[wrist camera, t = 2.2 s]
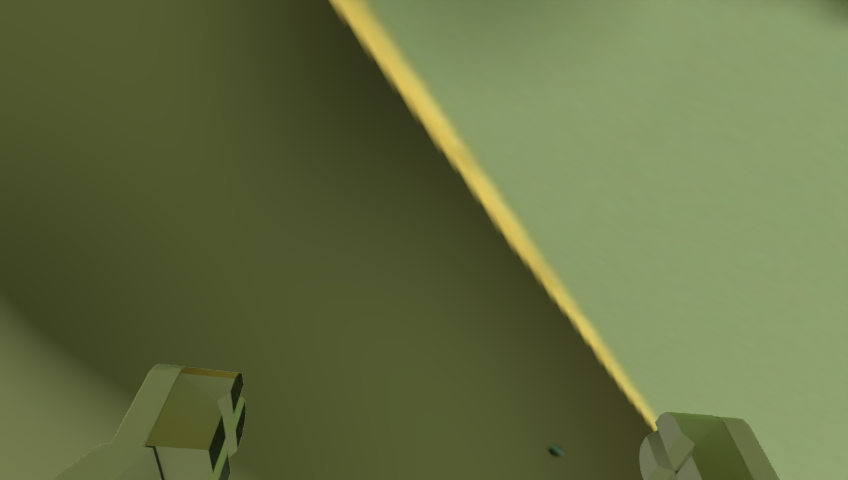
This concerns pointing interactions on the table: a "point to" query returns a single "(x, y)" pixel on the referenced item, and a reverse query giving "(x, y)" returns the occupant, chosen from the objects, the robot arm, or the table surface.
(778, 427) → the table surface
